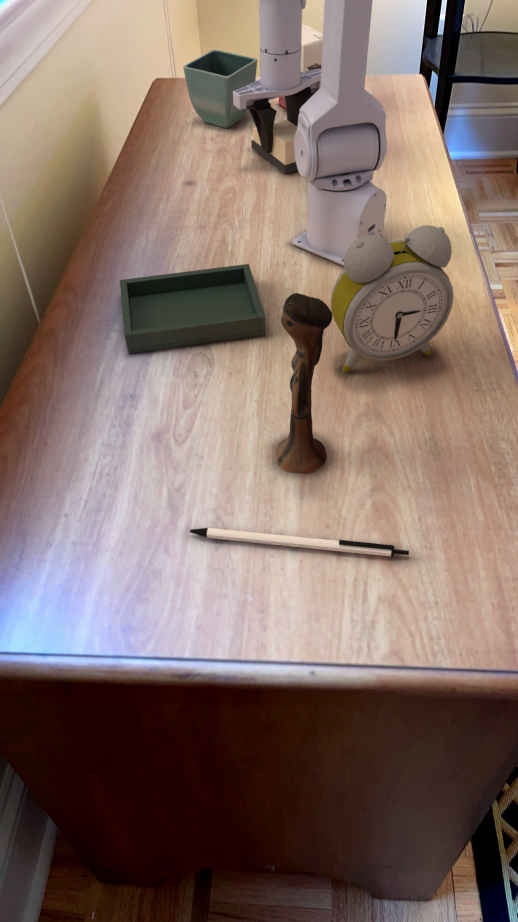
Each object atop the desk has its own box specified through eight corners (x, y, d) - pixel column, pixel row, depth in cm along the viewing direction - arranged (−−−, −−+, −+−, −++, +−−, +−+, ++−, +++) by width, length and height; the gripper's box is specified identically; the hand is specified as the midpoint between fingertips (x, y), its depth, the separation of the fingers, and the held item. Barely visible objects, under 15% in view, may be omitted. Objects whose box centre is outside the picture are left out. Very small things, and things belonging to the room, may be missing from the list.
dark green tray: (249, 281, 85) (248, 263, 83) (265, 335, 79) (265, 316, 77) (123, 298, 84) (119, 279, 82) (128, 353, 77) (124, 335, 75)
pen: (407, 560, 58) (409, 553, 58) (187, 537, 60) (186, 530, 60) (407, 551, 59) (409, 544, 58) (189, 529, 61) (188, 522, 60)
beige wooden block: (310, 166, 104) (311, 135, 100) (285, 174, 102) (285, 143, 99) (275, 141, 109) (275, 110, 106) (251, 148, 108) (250, 117, 105)
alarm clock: (341, 383, 73) (352, 260, 62) (320, 343, 77) (327, 221, 66) (442, 362, 75) (471, 238, 63) (416, 324, 79) (439, 202, 68)
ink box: (276, 104, 119) (276, 27, 110) (301, 98, 121) (303, 21, 112) (301, 122, 114) (303, 43, 105) (327, 116, 116) (331, 37, 107)
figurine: (279, 422, 69) (278, 268, 56) (328, 425, 69) (340, 271, 55) (272, 479, 65) (270, 325, 51) (326, 482, 64) (338, 328, 51)
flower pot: (260, 116, 116) (258, 57, 110) (231, 136, 112) (228, 77, 105) (217, 105, 120) (213, 48, 113) (187, 125, 115) (181, 66, 108)
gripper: (308, 28, 99) (306, 125, 109) (220, 49, 94) (226, 148, 105) (336, 43, 95) (331, 142, 105) (245, 65, 90) (249, 166, 101)
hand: (280, 146), depth 105 cm, fingers closed on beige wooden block, 4 cm apart
